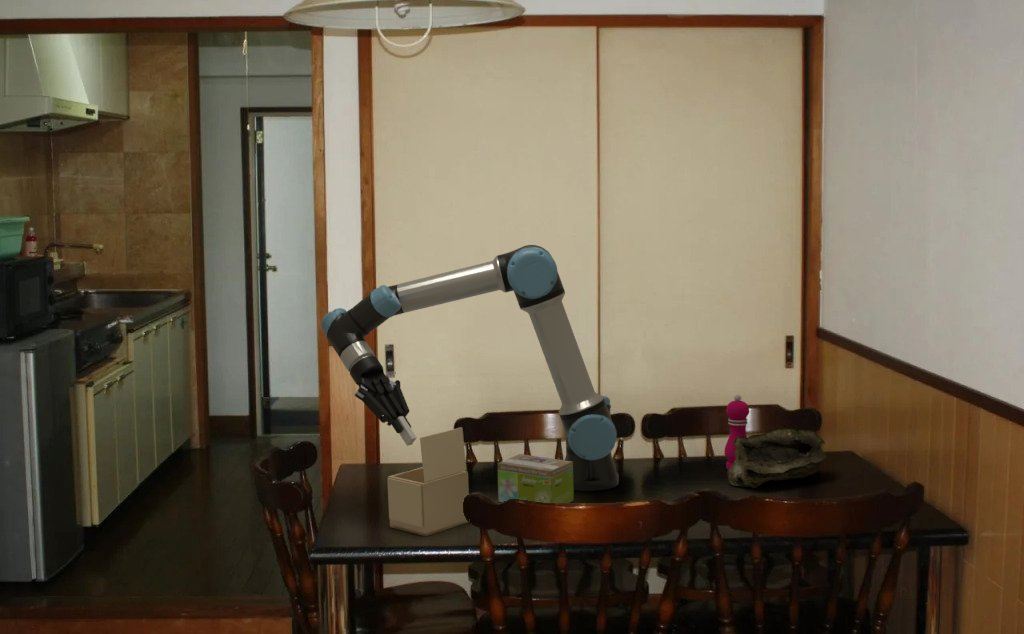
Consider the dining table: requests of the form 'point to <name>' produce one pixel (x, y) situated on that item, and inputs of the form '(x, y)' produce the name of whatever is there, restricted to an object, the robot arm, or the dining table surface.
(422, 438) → the flap
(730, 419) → the pepper mill
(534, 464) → the tea box
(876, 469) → the dining table surface
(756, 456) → the hollow geode rock
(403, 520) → the carton
